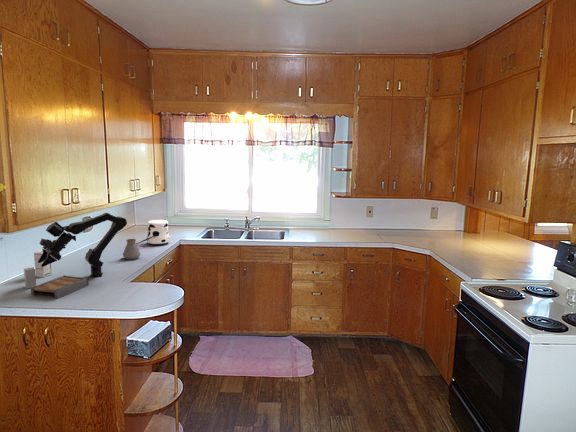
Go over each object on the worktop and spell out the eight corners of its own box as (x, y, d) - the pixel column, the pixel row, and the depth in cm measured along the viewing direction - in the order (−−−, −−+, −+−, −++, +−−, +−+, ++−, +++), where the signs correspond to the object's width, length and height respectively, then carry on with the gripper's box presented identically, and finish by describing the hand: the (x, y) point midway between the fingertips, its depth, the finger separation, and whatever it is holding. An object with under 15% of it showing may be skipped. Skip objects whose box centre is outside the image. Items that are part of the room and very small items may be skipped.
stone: (25, 286, 216) (23, 268, 214) (34, 284, 219) (33, 267, 217) (26, 288, 212) (25, 270, 211) (36, 287, 215) (35, 269, 214)
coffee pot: (122, 260, 269) (121, 239, 266) (123, 256, 280) (122, 235, 277) (155, 258, 276) (155, 237, 273) (155, 254, 286) (155, 234, 284)
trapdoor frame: (64, 282, 224) (63, 275, 223) (88, 285, 220) (88, 278, 219) (31, 295, 203) (30, 287, 202) (57, 298, 199) (56, 291, 199)
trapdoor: (63, 283, 221) (63, 277, 220) (82, 285, 218) (81, 279, 217) (34, 294, 202) (33, 288, 202) (54, 297, 200) (53, 290, 199)
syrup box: (44, 277, 231) (42, 253, 229) (35, 276, 232) (33, 252, 230) (51, 274, 237) (50, 250, 235) (43, 273, 238) (41, 249, 236)
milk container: (174, 243, 323) (173, 221, 320) (157, 247, 308) (156, 224, 305) (159, 240, 331) (158, 218, 329) (142, 244, 317) (141, 221, 314)
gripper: (45, 230, 225) (23, 252, 219) (53, 236, 211) (30, 259, 205) (62, 242, 231) (41, 263, 226) (70, 248, 217) (48, 271, 212)
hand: (40, 264), depth 217 cm, fingers open, 9 cm apart
